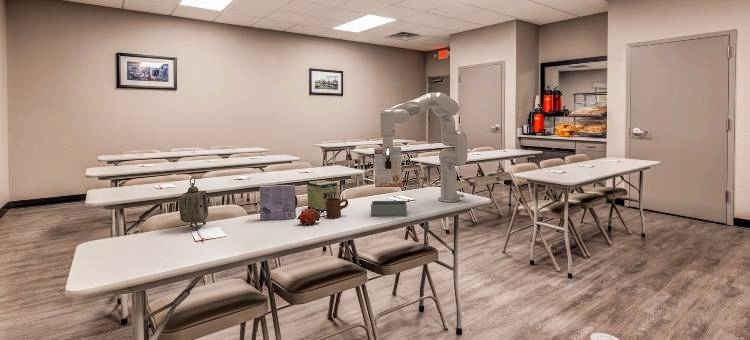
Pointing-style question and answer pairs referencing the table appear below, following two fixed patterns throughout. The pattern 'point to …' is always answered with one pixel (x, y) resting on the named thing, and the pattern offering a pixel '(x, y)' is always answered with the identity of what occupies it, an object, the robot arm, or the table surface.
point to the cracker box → (388, 175)
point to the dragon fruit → (309, 216)
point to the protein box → (320, 194)
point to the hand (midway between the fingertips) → (388, 167)
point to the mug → (335, 207)
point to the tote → (389, 208)
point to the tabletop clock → (193, 205)
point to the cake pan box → (278, 202)
